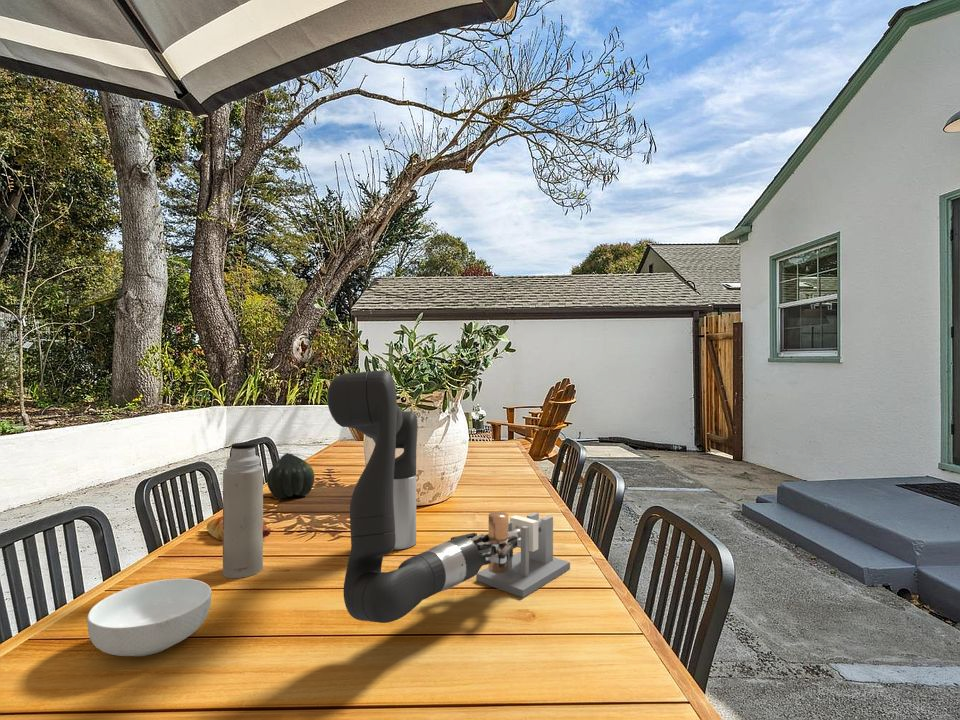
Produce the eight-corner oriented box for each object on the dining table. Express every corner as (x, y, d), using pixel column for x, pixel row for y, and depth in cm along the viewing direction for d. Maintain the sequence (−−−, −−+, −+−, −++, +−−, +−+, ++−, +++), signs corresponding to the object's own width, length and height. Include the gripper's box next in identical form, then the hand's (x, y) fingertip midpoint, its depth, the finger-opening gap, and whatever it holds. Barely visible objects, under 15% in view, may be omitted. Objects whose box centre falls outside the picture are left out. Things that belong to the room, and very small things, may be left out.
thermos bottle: (216, 579, 106) (216, 446, 106) (231, 564, 114) (231, 440, 114) (255, 577, 107) (255, 445, 107) (267, 562, 115) (268, 440, 115)
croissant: (198, 548, 133) (185, 525, 130) (225, 520, 142) (214, 498, 138) (262, 556, 126) (250, 533, 123) (287, 526, 135) (276, 504, 131)
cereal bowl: (70, 686, 71) (70, 636, 71) (103, 629, 86) (104, 587, 87) (206, 658, 78) (206, 612, 78) (215, 609, 93) (215, 571, 93)
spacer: (533, 551, 106) (533, 523, 106) (510, 544, 110) (510, 517, 110) (538, 549, 107) (538, 520, 107) (515, 542, 111) (515, 515, 111)
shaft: (500, 575, 99) (500, 519, 99) (484, 569, 102) (484, 515, 102) (551, 548, 113) (551, 499, 113) (537, 543, 116) (537, 496, 116)
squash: (310, 485, 164) (312, 446, 173) (261, 489, 161) (266, 449, 170) (315, 505, 174) (316, 467, 184) (269, 509, 171) (273, 470, 181)
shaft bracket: (523, 598, 98) (523, 538, 98) (476, 580, 106) (476, 525, 106) (570, 568, 112) (570, 517, 112) (525, 555, 119) (525, 506, 120)
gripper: (479, 552, 86) (535, 527, 99) (422, 534, 95) (480, 513, 109) (479, 596, 86) (535, 565, 99) (422, 573, 95) (480, 548, 109)
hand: (506, 538), depth 104 cm, fingers closed on shaft, 4 cm apart
